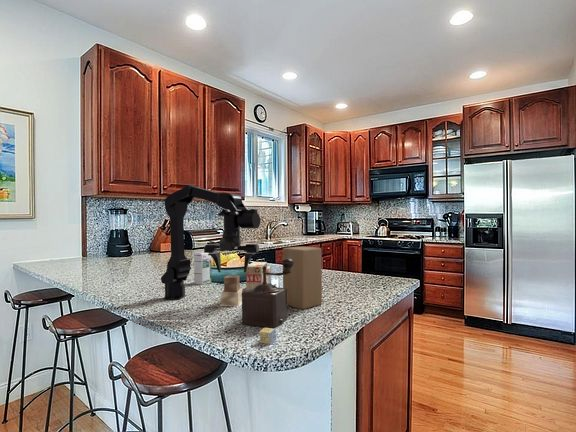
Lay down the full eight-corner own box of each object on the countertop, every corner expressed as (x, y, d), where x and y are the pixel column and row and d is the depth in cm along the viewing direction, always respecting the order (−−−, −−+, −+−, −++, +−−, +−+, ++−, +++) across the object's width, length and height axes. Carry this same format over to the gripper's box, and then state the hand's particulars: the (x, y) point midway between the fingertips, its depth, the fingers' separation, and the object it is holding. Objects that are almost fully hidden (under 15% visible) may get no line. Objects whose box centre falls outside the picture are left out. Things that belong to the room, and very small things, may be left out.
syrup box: (202, 284, 155) (202, 253, 155) (193, 283, 159) (193, 252, 159) (211, 282, 160) (211, 252, 160) (202, 281, 163) (202, 251, 163)
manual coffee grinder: (275, 329, 93) (274, 264, 93) (240, 324, 97) (240, 262, 97) (296, 314, 107) (296, 257, 107) (265, 311, 111) (265, 256, 111)
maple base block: (221, 305, 117) (221, 292, 117) (226, 300, 123) (226, 288, 123) (238, 305, 117) (238, 292, 117) (242, 301, 123) (242, 288, 123)
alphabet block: (270, 345, 82) (270, 332, 82) (259, 343, 83) (259, 330, 83) (276, 340, 85) (275, 328, 85) (265, 338, 86) (265, 327, 86)
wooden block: (301, 299, 126) (301, 246, 126) (322, 304, 119) (322, 247, 119) (282, 304, 119) (282, 248, 119) (303, 310, 112) (302, 249, 112)
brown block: (224, 292, 117) (224, 277, 117) (227, 289, 122) (227, 275, 122) (236, 292, 117) (236, 277, 117) (239, 289, 122) (239, 275, 122)
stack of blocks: (257, 286, 151) (257, 259, 152) (271, 286, 151) (271, 259, 151) (245, 297, 130) (245, 265, 130) (261, 298, 129) (261, 266, 130)
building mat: (202, 310, 112) (202, 309, 112) (215, 299, 127) (215, 298, 127) (240, 311, 111) (240, 309, 111) (249, 300, 126) (249, 298, 126)
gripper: (198, 229, 113) (198, 276, 113) (253, 229, 111) (253, 276, 111) (208, 228, 124) (209, 271, 124) (259, 228, 122) (259, 271, 122)
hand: (232, 272), depth 120 cm, fingers open, 9 cm apart
